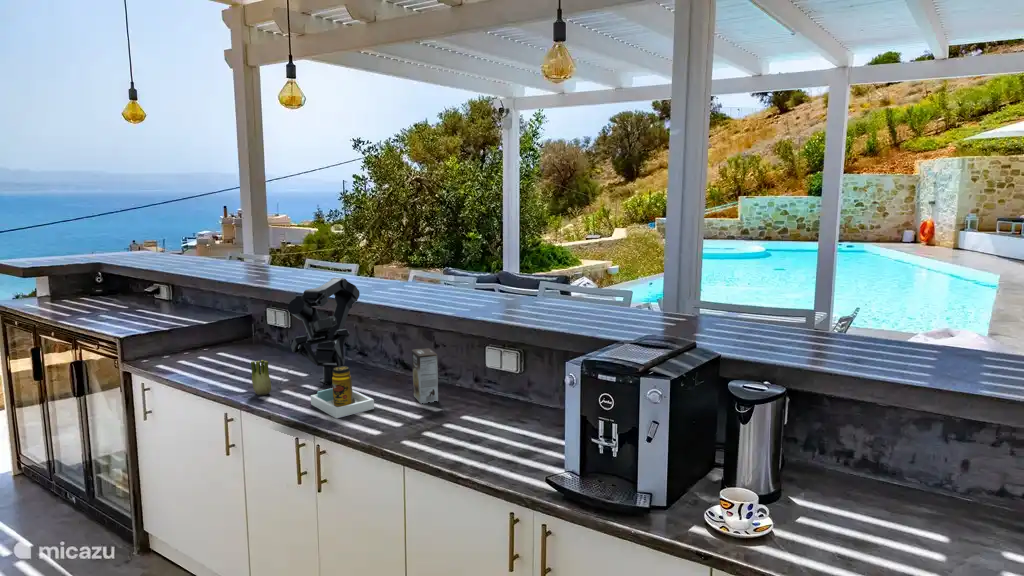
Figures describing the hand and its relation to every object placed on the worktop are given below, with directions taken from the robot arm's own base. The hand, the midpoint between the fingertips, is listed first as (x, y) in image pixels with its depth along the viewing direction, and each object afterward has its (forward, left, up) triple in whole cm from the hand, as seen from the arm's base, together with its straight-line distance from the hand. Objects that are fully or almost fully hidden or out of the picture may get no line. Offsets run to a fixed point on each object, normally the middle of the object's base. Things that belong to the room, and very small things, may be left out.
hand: (329, 361), depth 212 cm
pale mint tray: (+7, 0, -13) cm, 15 cm away
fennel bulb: (-24, -14, -14) cm, 31 cm away
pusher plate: (+1, 0, -13) cm, 13 cm away
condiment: (+7, 0, -13) cm, 15 cm away
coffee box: (+19, +24, -14) cm, 34 cm away
